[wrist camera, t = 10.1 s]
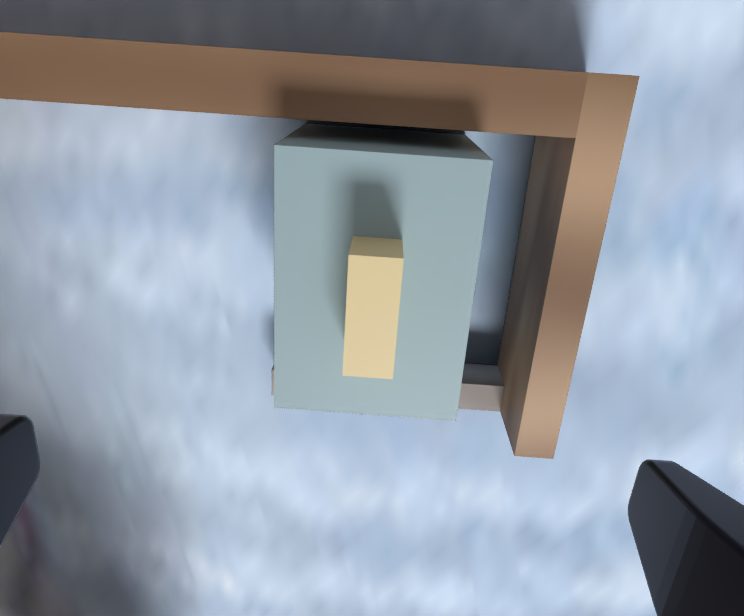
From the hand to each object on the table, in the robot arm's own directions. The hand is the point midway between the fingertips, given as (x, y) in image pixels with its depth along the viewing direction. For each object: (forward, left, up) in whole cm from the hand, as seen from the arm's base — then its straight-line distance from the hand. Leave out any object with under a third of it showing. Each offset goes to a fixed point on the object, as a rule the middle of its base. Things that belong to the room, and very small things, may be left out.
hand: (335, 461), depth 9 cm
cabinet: (0, 0, -12) cm, 12 cm away
